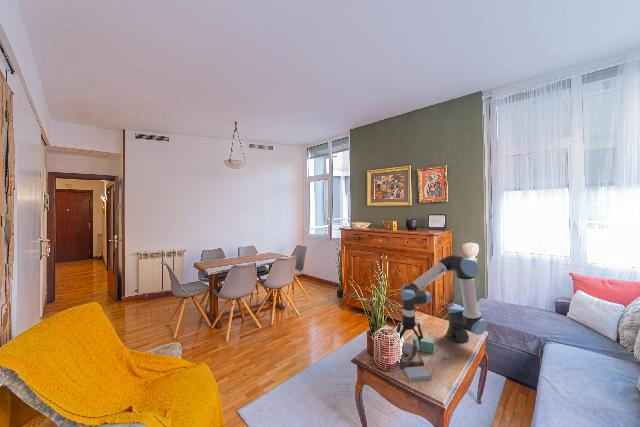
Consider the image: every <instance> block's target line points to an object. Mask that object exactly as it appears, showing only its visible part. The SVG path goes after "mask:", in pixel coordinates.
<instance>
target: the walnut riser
mask: <svg viewBox="0 0 640 427" xmlns="http://www.w3.org/2000/svg"><path fill="white" fill-rule="evenodd" d="M402 356H403V357H404V358H405V357H408V356H407V355H405V354H402ZM417 366H424V367H425V362H424V360H423V359H422V357H421V355H420V353H419V351H417V354H416V356H415V357H414V358H412V357H410V358H409V359H406V360H405V359H403V358H402V357H401V359H400V366H399V368H400V369H401V370H404V368H406V367H417Z"/></svg>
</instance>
